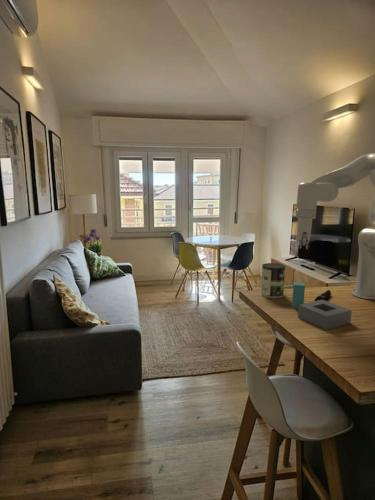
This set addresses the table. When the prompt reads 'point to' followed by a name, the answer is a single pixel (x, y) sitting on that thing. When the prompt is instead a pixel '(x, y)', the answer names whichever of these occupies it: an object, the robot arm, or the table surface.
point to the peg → (298, 294)
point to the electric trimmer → (324, 296)
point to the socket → (324, 314)
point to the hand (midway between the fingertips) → (302, 256)
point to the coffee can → (273, 280)
